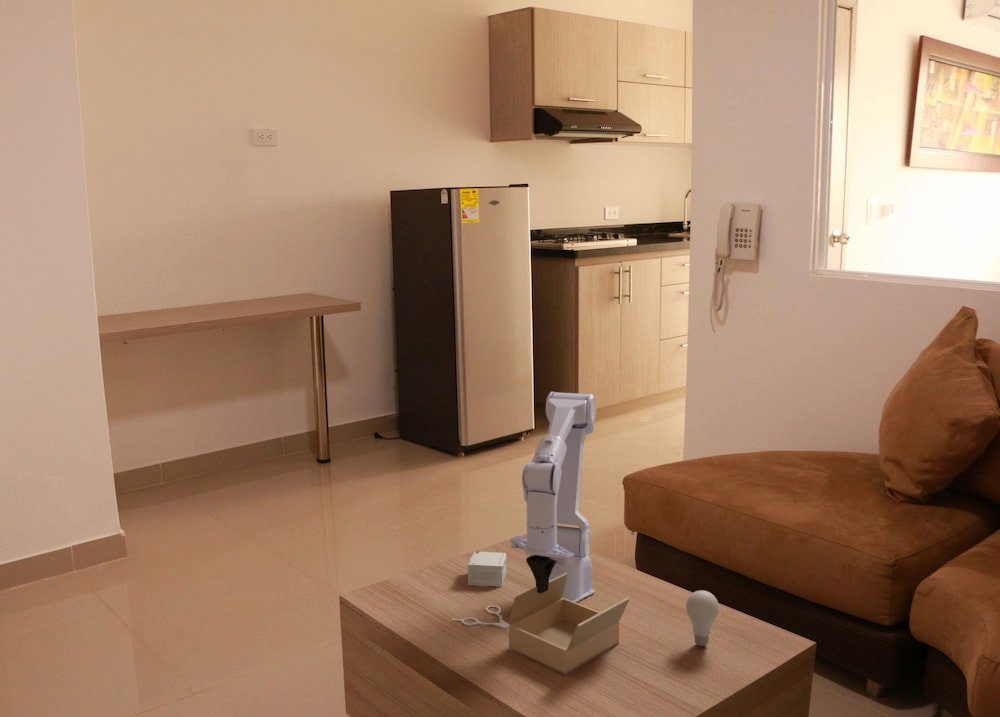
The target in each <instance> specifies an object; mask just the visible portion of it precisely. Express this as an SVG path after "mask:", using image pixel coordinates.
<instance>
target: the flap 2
mask: <svg viewBox="0 0 1000 717" xmlns="http://www.w3.org/2000/svg"><path fill="white" fill-rule="evenodd" d="M629 600H630V597H629V596H627V597H626V598H624V599H622V600H620V601H619V602H617V603H614V604H612V605H611V606H609V607H607V608H605V609H604V610H602V611H599V612H600V613H598V614H596V615H594V616H593V617H591V618H589V619H587V620H585V621H584V622H582V623H580V624H578V625H577V627H576V629H575V632H574V634H573V636H572V639H571V641H570V643H569V646H568V648H567V650H568V651H569V650H570V649H572V648H574V647H576V646H577V645H579V644H581V643H583V642H584V641H586V640H588V639H590V638H591V637H593V636H595V635H597V634H598V633H600V632H602V631H604V630H605V629H607V628H609V627H611V626H612V625H614V624H616V623H618V622H619V623H620V621H621V619H622V617H623V614H624V612H625V609H627V608H626V607H627V605H628V604H629Z"/></svg>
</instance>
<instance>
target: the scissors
mask: <svg viewBox="0 0 1000 717" xmlns="http://www.w3.org/2000/svg"><path fill="white" fill-rule="evenodd" d="M490 607H492V608H494V607H496V609H497V610H498V611H491V610H490V609H491V608H490ZM488 608H489V609H488ZM485 611H486V613H488V614H489V613H491V614H490V615H495V616H496V615H497V617H498V616H499V617H498V619H499V622H484V621H483V622H482V621H480V620H479V619H478V618H477V617H473V616H472V617H469V616H468V617H463V618H461V619H460V618H451V622H458V621H460V623H461V624H462V623H463V625H464V626H467V625H468V626H467V627H472V626H473V627H474V626H478V625H479V626H480V625H482V626H485V627H486V625H488V626H493V625H494V627H497V626H498V627H497V628H500V627H501V628H500V629H503V628H504V629H503V630H506V629H509V625H510V623H509V622H506V621H505V620H503V616H502V615H500V614H501V613H502V610H501V607H500V606H498V605H493V604H492V605H489V606H488V605H487V606H486V608H485ZM499 613H500V614H499ZM466 619H472V621H474V620H475V621H474V622H472V623H468V622H465V621H467V620H466ZM464 620H465V621H464ZM507 631H508V632H509V630H507Z"/></svg>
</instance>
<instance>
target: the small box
mask: <svg viewBox="0 0 1000 717" xmlns="http://www.w3.org/2000/svg"><path fill="white" fill-rule="evenodd" d="M506 576H507V553H506V552H496V551H495V552H494V551H493V552H492V551H491V552H490V551H473V553H472V555H471V556H470V557H469V562H468V565H467V584H468V585H467V586H469V585H477V586H476V587H488V586H496V587H495V588H503V585H504V584H503V583H504V581H505V577H506ZM478 585H479V586H478Z"/></svg>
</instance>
